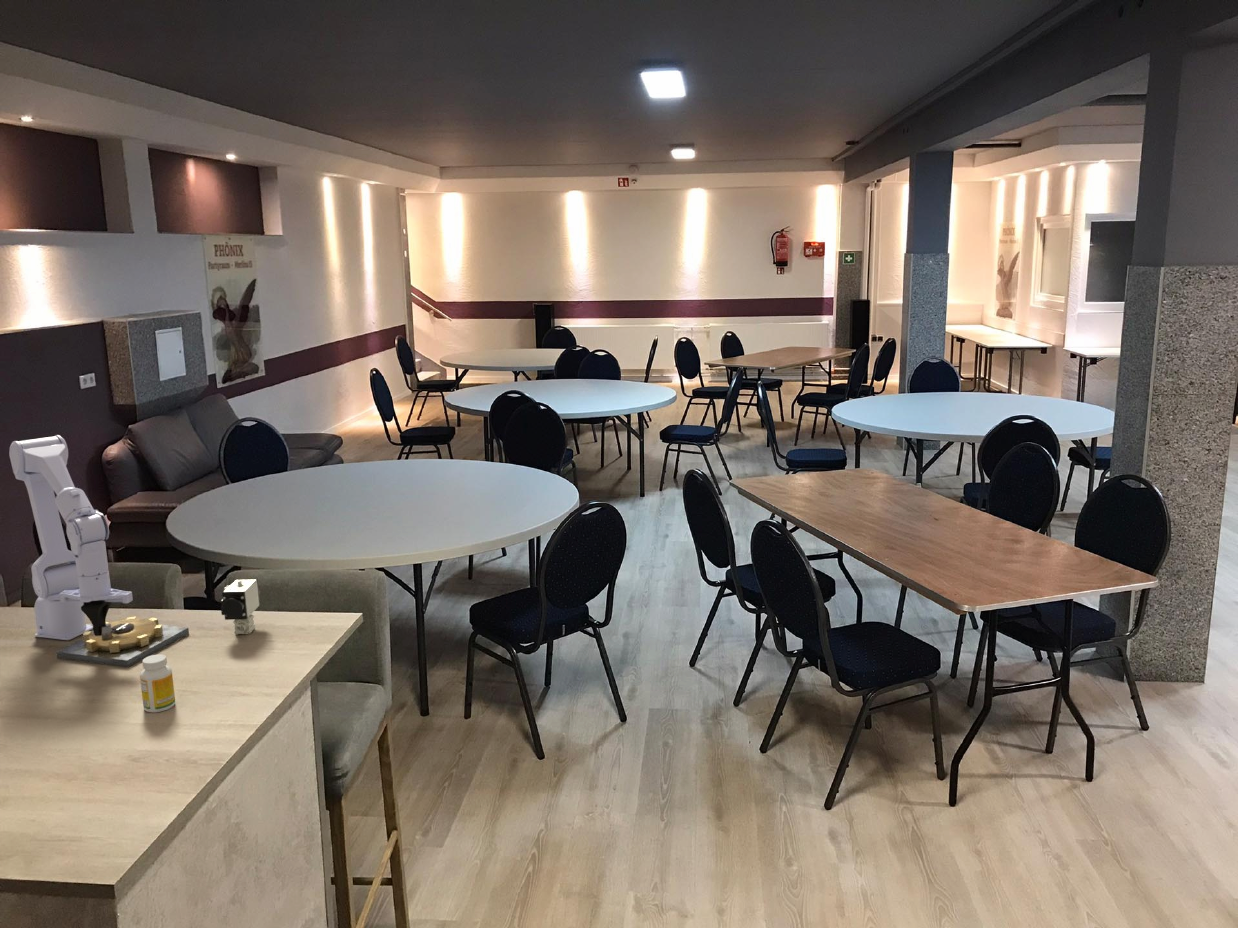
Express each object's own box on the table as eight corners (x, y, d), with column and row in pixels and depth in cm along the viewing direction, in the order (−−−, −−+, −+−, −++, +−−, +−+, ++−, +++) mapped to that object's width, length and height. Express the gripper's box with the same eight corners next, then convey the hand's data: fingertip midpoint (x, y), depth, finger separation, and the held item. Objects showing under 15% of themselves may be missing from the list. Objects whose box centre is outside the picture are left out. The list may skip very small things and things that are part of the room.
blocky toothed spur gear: (115, 623, 215) (112, 602, 214) (175, 626, 213) (173, 605, 212) (69, 650, 201) (65, 628, 200) (133, 653, 199) (130, 631, 198)
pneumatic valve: (264, 621, 220) (259, 571, 217) (246, 641, 209) (241, 589, 206) (239, 622, 220) (234, 572, 217) (220, 642, 208) (215, 590, 206)
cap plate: (57, 658, 201) (56, 651, 201) (122, 626, 218) (121, 620, 218) (128, 667, 197) (127, 660, 196) (189, 633, 213) (188, 627, 213)
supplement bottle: (138, 713, 177) (132, 664, 175) (152, 700, 182) (146, 652, 180) (167, 713, 177) (161, 664, 175) (180, 699, 182) (175, 652, 180)
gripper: (46, 578, 195) (55, 640, 198) (115, 579, 194) (123, 642, 197) (68, 566, 202) (76, 627, 205) (135, 568, 201) (142, 629, 204)
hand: (101, 633), depth 202 cm, fingers closed, pressing on blocky toothed spur gear
